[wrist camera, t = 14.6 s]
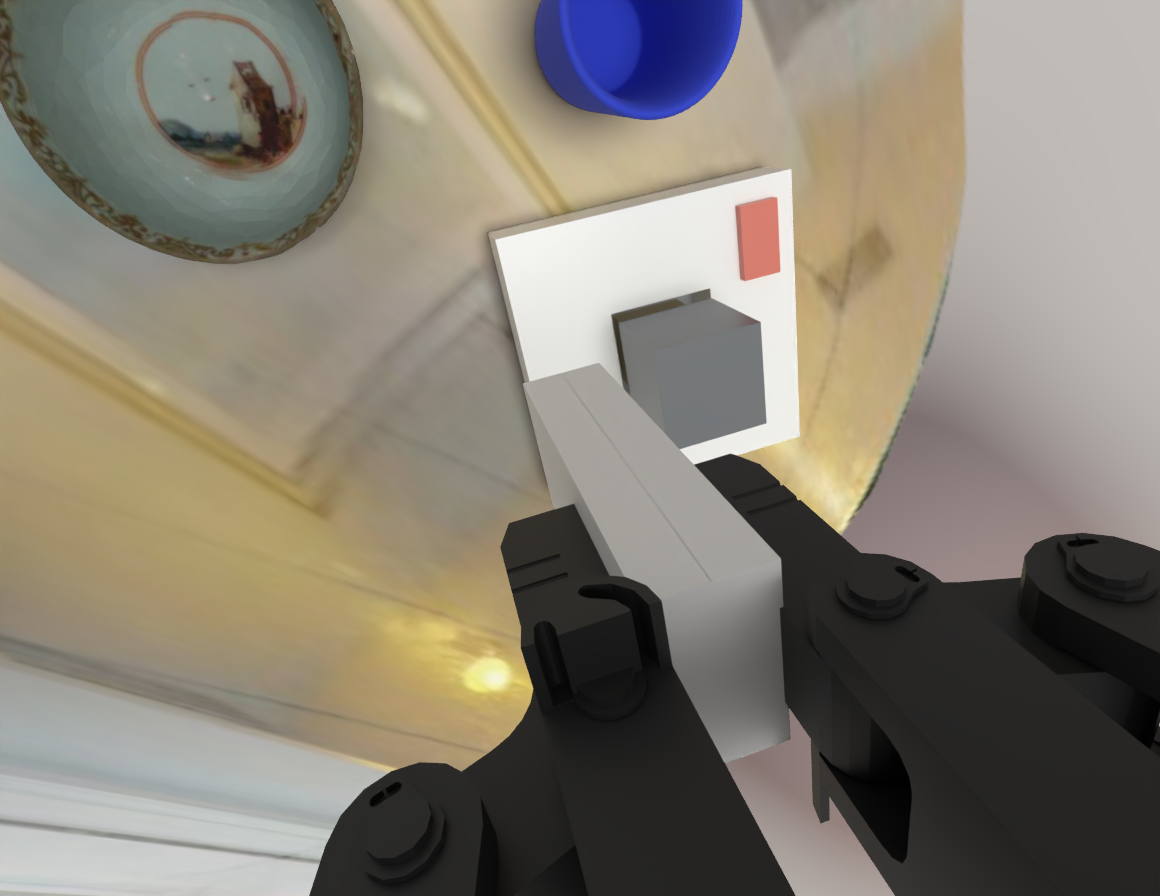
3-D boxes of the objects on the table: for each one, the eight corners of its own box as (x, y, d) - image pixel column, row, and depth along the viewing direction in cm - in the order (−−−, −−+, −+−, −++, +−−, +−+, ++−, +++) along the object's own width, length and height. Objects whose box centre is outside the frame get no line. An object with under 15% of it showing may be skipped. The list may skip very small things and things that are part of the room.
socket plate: (549, 485, 47) (562, 513, 43) (487, 232, 39) (496, 241, 35) (774, 418, 49) (804, 439, 46) (761, 166, 41) (796, 169, 38)
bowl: (415, 189, 37) (419, 199, 30) (187, 277, 36) (136, 310, 29) (287, -107, 30) (254, -183, 23) (5, -9, 29) (-119, -58, 22)
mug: (738, 47, 38) (841, 18, 29) (561, 152, 38) (611, 155, 29) (687, -118, 34) (789, -209, 25) (489, -1, 34) (522, -51, 25)
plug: (614, 391, 45) (668, 452, 36) (599, 307, 42) (653, 351, 33) (695, 369, 45) (766, 423, 37) (685, 285, 43) (760, 321, 34)
